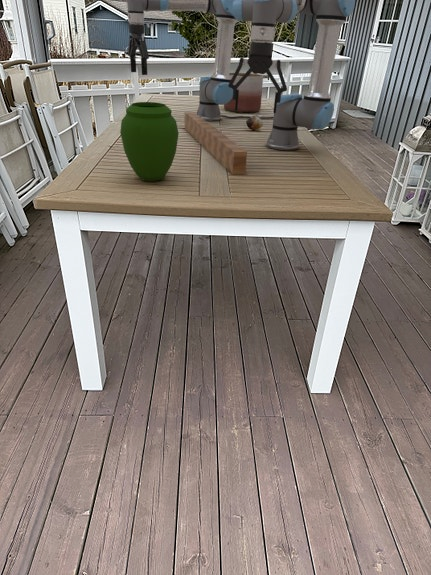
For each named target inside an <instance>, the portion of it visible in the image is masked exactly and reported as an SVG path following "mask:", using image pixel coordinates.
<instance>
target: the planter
mask: <svg viewBox="0 0 431 575" xmlns="http://www.w3.org/2000/svg"><path fill="white" fill-rule="evenodd" d="M234 73H235V72H229V76H230V77H231V79H232V77H233V75H234ZM245 73H246V72H239V74H238V75H237V77H236V79H235V81H234V83H233V84H234V85H236V83H237V82H238V81H239V80H240V79H241V78H242V77H243V75H244V74H245ZM263 83H264V74H260V73H258V74H254V73H253V72H251V73H250V74H249V75H248V77H247V78H246V79H245V80H244V81H243V82H242V83H241V85H240V86H239V87H238V88H237V90H239V97H238V110H237V111H235V104H236V100H233V97H232V99H231V100H230V101H229V102H228V103H227V104H224V105H223V108H224V109H225V110H226V111H228V112H232V113H238V114H253V113H259V111H260V110H261V108H262V97H263Z"/></svg>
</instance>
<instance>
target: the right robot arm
mask: <svg viewBox="0 0 431 575" xmlns="http://www.w3.org/2000/svg"><path fill="white" fill-rule="evenodd" d="M355 5H356V0H234V2H233V6H232V7H233V15H234V17H235V19H236V20H238V21H240V22H251V29H250V30H251V31H250V40H251V42H250V44H249V53H248V54H249V56H248V58H244V57H240V58H239V61H238V65H237V68H236V69H235V71H234V72H233V73H234V75H233V77H232V79H231V81H230V83H229V85H228V86H229V87H230V88H232V89H233V100H236V104H235V111H237V110H238V97H239V90H237V88H238V87H239V86H240V85H241V83H242V82H243V81H244V80H245V79H246V78H247V77H248V75H249V74H250V73H252V74H259V75H264V74H266V75H267V76H268V78H269V80H270V82H271V83H272V84H273V86H274V88H275V89H276V92H275V95H274V103H273V111H272V112H273V113H272V114H273V117H274V118H272V127H271V128H272V129H271V131H270V134H269V136H268V138H267V141H266V147H267V148H268V149H272V150H277V151H286V152H287V151H297V150H298V149H299V146H300V140H299V135H298V127H300V128H305V129H306V128H307V129H311V130H318V131H322V130H324V129H326V128H327V127H328V126H329V124H330V122H331V121H332V118H333V115H334V111H335V104H334V102H332V96H331V95H330V92H329V91H330V86H331V80H332V75H333V71H334V65H335V59H336V53H337V49H338V43H339V37H340V32H341V27H342V26H343V25H344V24H345V23H346V21H347V17H350V16H351V15H352V14H353V11H354V10H355ZM298 14H301V15H309V16H316V17H315V21H316V23H317V25H318V29H317V35H316V41H315V47H314V55H313V59H312V66H311V72H310V76H309V77H310V78H309V85H308V90H307V91H306V92H305V93H304V94H300V93H290V94H282V93H284V92H287V91H288V87H287V84H286V80H285V78H284V74H283V72H282V68H281V62H282V61H281V60H280V59H275V60H273V49H274V44H273V41H274V40H275V30H276V23H281V24H288V23H291V22H292V21H293V20H295V18H296V16H297V15H298ZM246 64H247V65H248V67H249V68H248V70H247V71H245V72H244V73H245V74H244V75H243V77H242V78H241V79H240V80H239V81H238V82H237V83H236V85H234V84H233V83H234V81H235V79H236V77H237V75H238V74H239V73H241V72H240V71H241V70H242V68H243V66H245V65H246ZM272 66H274V68H275V69H276V71H277V74H278V77H279V79H280V83H281V86H282V87H281V86H280V85H279V83H278V82H277V80H276V78H275V76H274V75H273V73H272V72H271V70H270V68H272Z"/></svg>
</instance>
